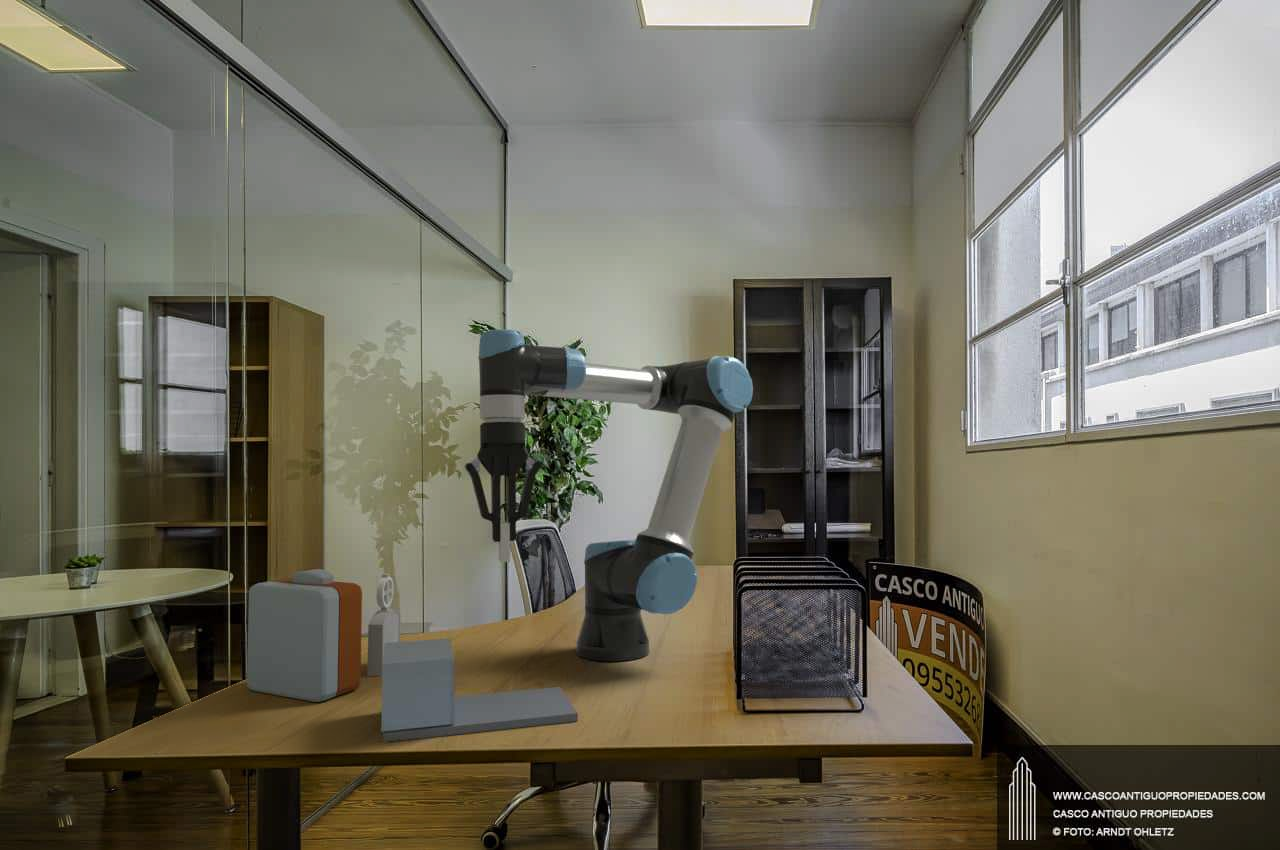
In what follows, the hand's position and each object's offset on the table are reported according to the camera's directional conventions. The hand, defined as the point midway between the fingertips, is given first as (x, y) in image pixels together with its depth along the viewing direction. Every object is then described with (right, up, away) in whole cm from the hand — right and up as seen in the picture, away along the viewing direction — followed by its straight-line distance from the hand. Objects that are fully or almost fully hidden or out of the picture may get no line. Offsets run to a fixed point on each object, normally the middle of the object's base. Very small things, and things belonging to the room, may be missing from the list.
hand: (504, 560), depth 125 cm
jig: (-2, -22, -10) cm, 25 cm away
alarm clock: (-36, -23, +4) cm, 43 cm away
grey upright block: (-11, -21, -12) cm, 27 cm away
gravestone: (-26, -24, +17) cm, 40 cm away
